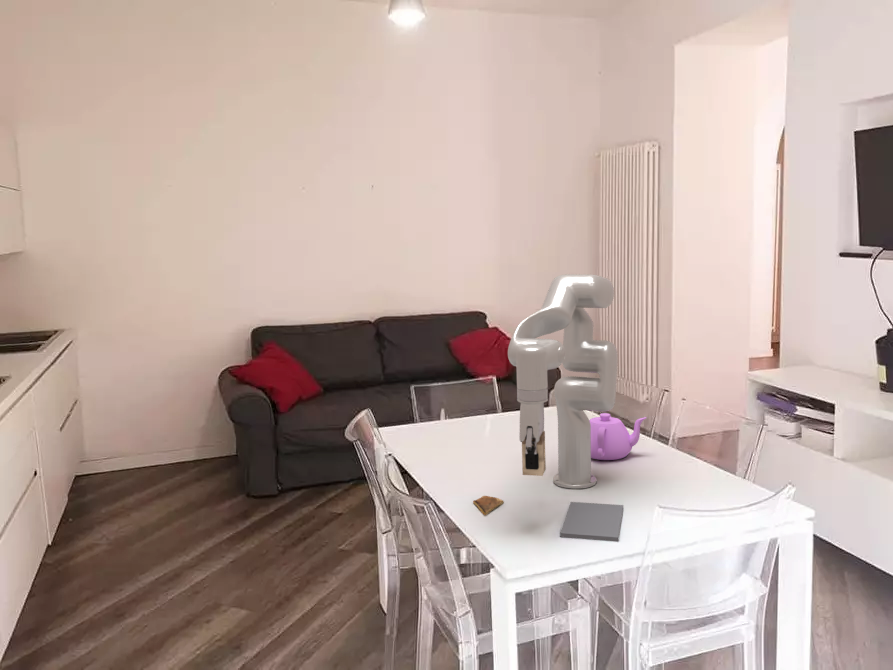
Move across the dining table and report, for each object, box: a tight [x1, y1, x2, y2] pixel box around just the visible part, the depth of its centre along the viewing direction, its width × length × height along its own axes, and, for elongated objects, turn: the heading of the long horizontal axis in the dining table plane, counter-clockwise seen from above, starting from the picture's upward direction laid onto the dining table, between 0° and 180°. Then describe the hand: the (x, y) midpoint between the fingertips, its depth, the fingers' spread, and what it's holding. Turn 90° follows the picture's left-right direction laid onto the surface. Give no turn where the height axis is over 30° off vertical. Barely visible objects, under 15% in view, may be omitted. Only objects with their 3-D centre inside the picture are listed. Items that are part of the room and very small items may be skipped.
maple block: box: [521, 430, 547, 477], centre depth 201 cm, size 5×5×10 cm
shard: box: [472, 495, 505, 516], centre depth 220 cm, size 11×8×2 cm
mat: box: [559, 501, 624, 542], centre depth 207 cm, size 22×14×1 cm, turn 165°
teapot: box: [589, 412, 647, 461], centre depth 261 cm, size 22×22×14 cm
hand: (534, 464), depth 202 cm, fingers closed on maple block, 5 cm apart
